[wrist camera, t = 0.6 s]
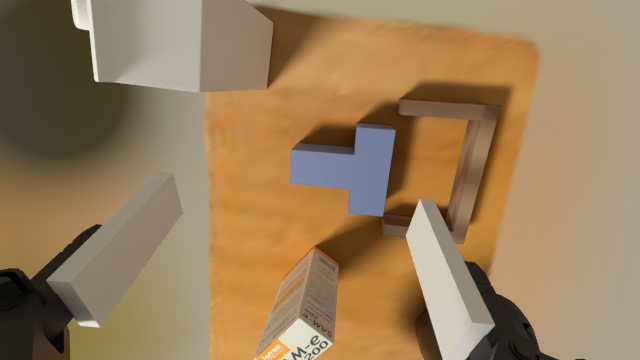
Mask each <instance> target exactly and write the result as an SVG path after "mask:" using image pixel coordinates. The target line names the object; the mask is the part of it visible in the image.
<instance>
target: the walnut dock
mask: <svg viewBox="0 0 640 360" xmlns="http://www.w3.org/2000/svg"><path fill="white" fill-rule="evenodd" d="M500 107H501V106H495V105H487V104H472V103H456V102H440V101H425V100H409V99H399V103H398V110H397V113H399V114H401V115H410V116H424V117H439V118H453V119H468V120H469V121H468V125H467V130H466V134H465V138H464V142H463V147H462V151H461V155H460V159H459V164H458V168H457V172H456V176H455V181H454V185H453V189H452V193H451V198H450V202H449V206H448V210H447V214H446V219H445V220H444V222H445V224H446V226H447V228H448V230H449V232H450V234H451V236H452V238H453V240H454V242H455V244H464V240H465V237H466V233H467V229H468V226H469V222H470V218H471V214H472V211H473V207H474V203H475V200H476V196H477V192H478V189H479V185H480V181H481V177H482V174H483V170H484V166H485V163H486V159H487V155H488V151H489V148H490V144H491V140H492V137H493V133H494V129H495V125H496V122H497V118H498V114H499V111H500ZM412 218H413V217H409V216H399V215H389V214H383V217H382V218H381V228H382V233H383V236H392V237H401V238H406V234H407V231H408V229H409V226H410V223H411V221H412Z"/></svg>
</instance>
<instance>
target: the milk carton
mask: <svg viewBox="0 0 640 360" xmlns="http://www.w3.org/2000/svg"><path fill="white" fill-rule="evenodd" d="M71 3H72V11H73V18H74V23H75V25H76V27H77V28H80V29H85V30H90V39H91V50H92V60H93V70H94V79H95V81H97V82H117V83H125V84H133V85H142V86H149V87H158V88H166V89H174V90H182V91H191V92H218V91H248V90H266V89H267V83H268V73H269V64H270V55H271V45H272V36H273V22H271V21H270V20H269V19H268V18H266V17H265V16H264V15H263V14H261V13H260V12H259V11H258V10H256V9H255V8H254V7H253V6H251V5H250V4H249V3H247V2H246V1H245V0H71Z"/></svg>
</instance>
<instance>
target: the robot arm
mask: <svg viewBox="0 0 640 360" xmlns="http://www.w3.org/2000/svg"><path fill="white" fill-rule="evenodd" d="M182 213H183V212H182V208H181V204H180V200H179V196H178V192H177V188H176V184H175V180H174V176H173V173H168V172H157V173H156V174H155V175H154V176H153V177H152V178H151V179H150V180H149V181H148V182H147V183H146V184H145V185H144V186H143V187H142V188H141V189H140V190H139V191H138V192H137V193H136V194H134V196H132V197H131V198H130V199H129V200H128V201H127V202H126V203H125V204H124V205H123V206H122V207H121V208H120V209H119V210H118V211H117V212H116V213H115V214H114V215H113V216H112V217H111V218H110V219H109V220H108V221H107V222H106V223H104V224H103V225H97V224H96V225H94V226H92V227H91V228H89V229H87V230H85V231H83V232H82V233H81V234H80V235H79V236H78V237H76V238H75V239H74V240H73V241H72V243H71V244H69V245H68V246H67V247H66V248H64V249H63V252H60V253H59V254H58V255H57V256H56V257H55V258H54V259H52V260H51V261H50V262H49V263H48V264H47V265H46V266H45V267H44V268H43V269H42V270H40V271H39V272H38V273H37V274H36V275H35V276H34V277H33V278H32V279H31V280H29V278H28V277H27V276H26V275H25V273H24V272H23V271H21V270H19V269H13V268H11V269H10V268H9V269H4V270H0V360H70V338H69V329H68V327H67V324H68V323H69V322H70V321H71V320H72V318H73V317H74V318H75V320H76V321H77V322H78V324H79V325H81V326H90V327H101V326H102V324H103V323H104V322H105V320H106V319H107V317H108V316H109V315H110V313H111V312H112V311H113V309H114V308H115V306H116V305H117V304H118V302H119V301H120V299H121V298H122V296H123V295H124V294H125V292H126V291H127V290H128V288H129V287H130V285H131V284H132V283H133V281H134V280H135V279H136V277H137V276H138V274H139V273H140V271H141V270H142V269H143V267H144V266H145V265H146V263H147V262H148V260H149V259H150V258H151V256H152V255H153V253H154V252H155V251H156V249H157V248H158V246H159V245H160V244H161V242H162V241H163V239H164V238H165V237H166V235H167V234H168V233H169V231H170V229H171V228H172V227H173V225H174V224H175V222H176V221H177V220H178V218H179V217H180V216H181V214H182ZM406 238H407V242H408V245H409V248H410V252H411V255H412V258H413V262H414V265H415V268H416V272H417V275H418V278H419V282H420V285H421V289H422V292H423V295H424V299H425V302H426V305H427V308H426V309H425V311H424V312H423V313H422V315H421V316H420V318H419V321H418V324H417V330H416V333H417V339H418V343H419V347H420V351H421V353H422V356H423V358H424V360H558V359H555V358H553V357H550V356H548V355H546V354H543V353H541V352H540V349H539V346H538V343H537V339H536V336H535V333H534V330H533V328H532V326H531V324H530V323H529V321H528V320H527V319H526V317H525V316H524V314H523V313H522V312H521V310H520V309H519V308H518V307H517V306H516V305H515V304H514V303H513V302H512V301H510V300H509V299H507V298H505V297H503V296H501V295H498V294H496V292H495V290H494V289H493V287H492V286H491V283H490V281H489V279H488V278H487V276H486V274H485V272H484V271H483V270H482V269H481V268H480V267H479V266H478V265H477V264H476V263H475V262H466V261H464V260H463V258H462V256H461V254H460V252H459V250H458V248H457V246H456V244H455V242H454V240H453V238H452V236H451V234H450V232H449V230H448V228H447V226H446V224H445V222H444V220H443V218H442V216H441V214H440V212H439V210H438V208H437V206H436V203H435V201H434V200H425V199H420V200H419V202H418V205H417V208H416V210H415V213H414V215H413V218H412V221H411V223H410V226H409V229H408V231H407V234H406ZM576 360H585V359H576Z"/></svg>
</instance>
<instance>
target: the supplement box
mask: <svg viewBox="0 0 640 360" xmlns="http://www.w3.org/2000/svg"><path fill="white" fill-rule="evenodd" d="M338 273H339V264H338V263H337V262H335V261H334V260H333V259H331V258H330V257H329V256H327V255H326V254H325V253H323V252H322V251H321V250H320V249H318V248H317V247H316V246H315V247H313V248H312V249H311V250H310V251H309V252H308V253H307V254H306V255H305V257H304V258H302V259H301V261H299V263H298V264H297V265H296V266H295V267H294V268H293V269H292V270H291V271H290V272H289V273H288V274H287V275H286V276H285V277H284V278H283V280H282V282H281V285H280V288H279V291H278V293H277V296H276V299H275V302H274V304H273V307H272V310H271V312H270V315H269V318H268V321H267V323H266V326H265V329H264V332H263V334H262V337H261V340H260V342H259V345H258V348H257V350H256V353H255V356H254V360H314V359H315V358H316V357H318V356H319V355H320V354H321V353H323V352H324V351H325V350H327V349H328V348H329V347H330V346H332V345H333V344H334V331H335V315H336V302H337V288H338Z"/></svg>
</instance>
